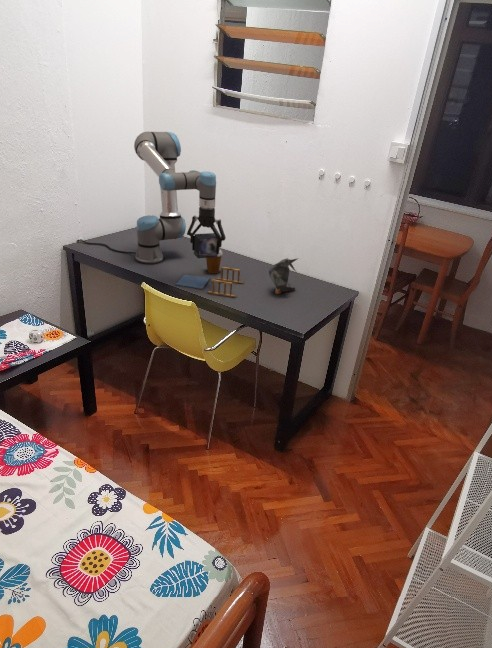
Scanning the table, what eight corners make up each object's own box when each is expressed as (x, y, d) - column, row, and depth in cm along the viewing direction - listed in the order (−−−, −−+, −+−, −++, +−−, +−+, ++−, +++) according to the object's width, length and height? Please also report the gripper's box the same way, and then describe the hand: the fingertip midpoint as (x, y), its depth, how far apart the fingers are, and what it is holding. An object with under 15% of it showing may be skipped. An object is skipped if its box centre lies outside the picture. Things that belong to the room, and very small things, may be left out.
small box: (198, 259, 225) (198, 238, 219) (193, 254, 229) (193, 233, 223) (217, 257, 229) (218, 237, 223) (213, 252, 234) (213, 232, 228)
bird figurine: (262, 286, 242) (265, 254, 232) (288, 284, 248) (292, 252, 238) (273, 298, 231) (276, 264, 222) (299, 295, 237) (304, 262, 227)
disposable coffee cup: (218, 275, 248) (219, 254, 241) (202, 272, 249) (202, 251, 243) (223, 269, 256) (224, 249, 249) (207, 266, 257) (208, 246, 250)
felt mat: (175, 285, 233) (175, 284, 233) (184, 275, 244) (184, 274, 244) (202, 289, 232) (202, 288, 232) (209, 279, 243) (209, 278, 243)
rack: (207, 293, 229) (208, 279, 224) (217, 279, 244) (218, 265, 240) (235, 297, 227) (235, 283, 223) (243, 283, 243) (243, 269, 239)
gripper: (180, 205, 213) (180, 250, 225) (230, 213, 212) (227, 257, 224) (184, 201, 219) (184, 245, 232) (233, 209, 218) (230, 252, 230)
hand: (205, 251), depth 228 cm, fingers closed on small box, 12 cm apart
